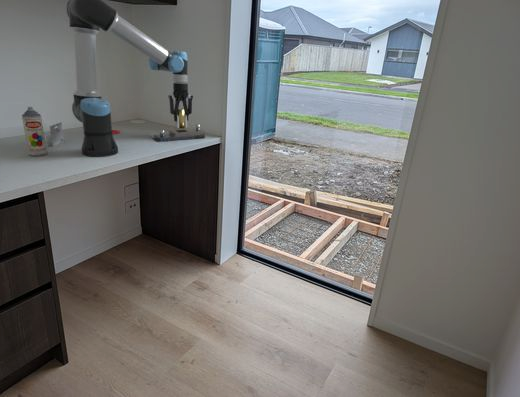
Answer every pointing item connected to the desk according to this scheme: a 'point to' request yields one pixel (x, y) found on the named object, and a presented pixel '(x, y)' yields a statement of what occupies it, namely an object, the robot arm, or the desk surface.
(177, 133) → the door bolt
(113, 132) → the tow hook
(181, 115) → the brass pin
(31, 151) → the aerosol can
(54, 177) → the desk surface
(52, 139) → the ink cartridge box
